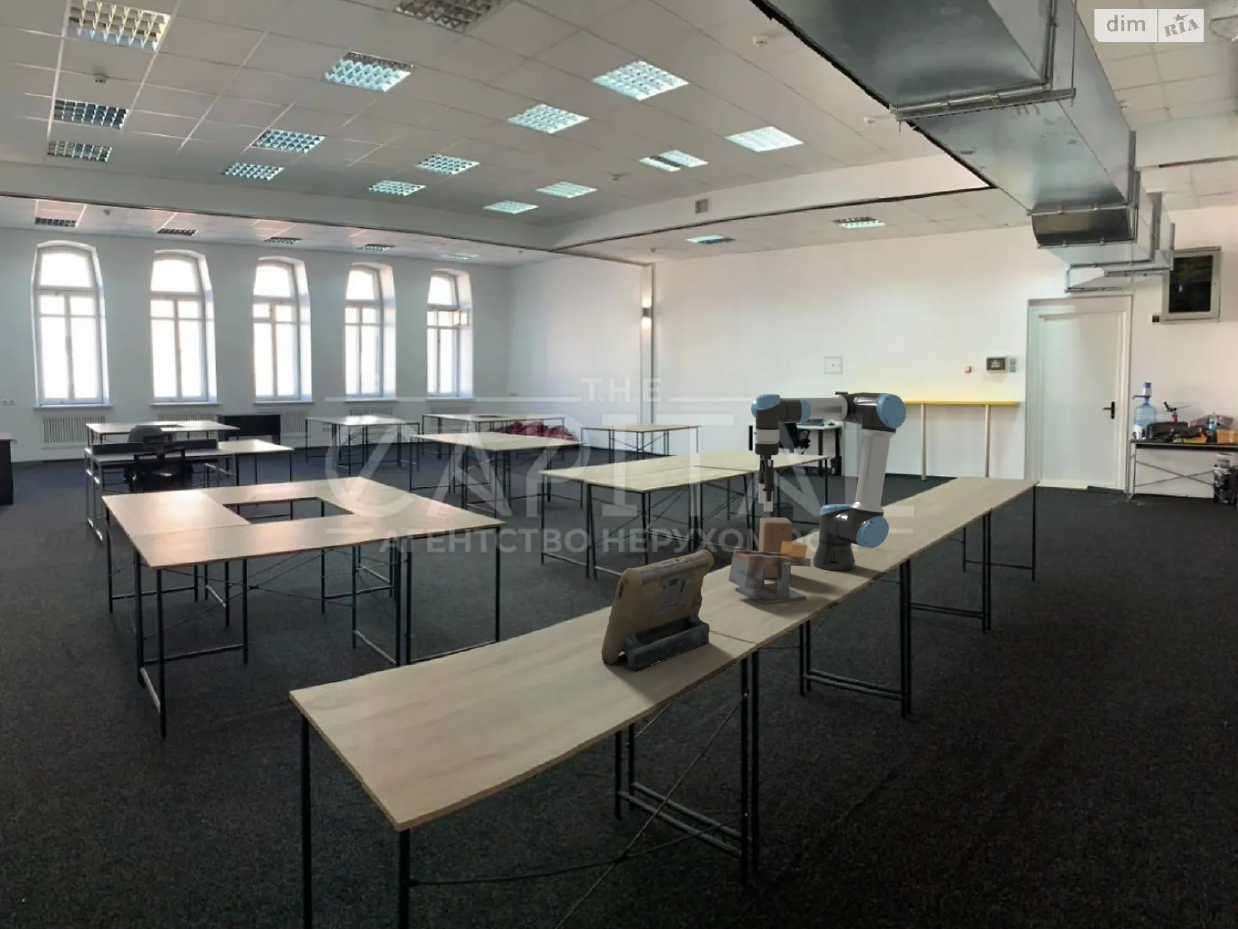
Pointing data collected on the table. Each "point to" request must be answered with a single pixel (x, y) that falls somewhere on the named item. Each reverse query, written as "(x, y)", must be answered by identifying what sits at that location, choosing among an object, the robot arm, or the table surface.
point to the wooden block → (774, 539)
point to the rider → (793, 549)
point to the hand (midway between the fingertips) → (765, 507)
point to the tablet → (658, 611)
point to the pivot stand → (774, 588)
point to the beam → (757, 566)
